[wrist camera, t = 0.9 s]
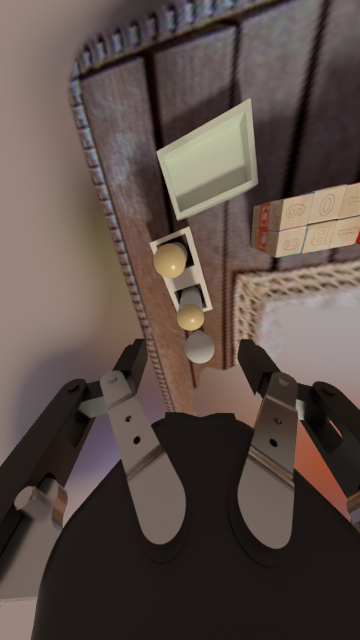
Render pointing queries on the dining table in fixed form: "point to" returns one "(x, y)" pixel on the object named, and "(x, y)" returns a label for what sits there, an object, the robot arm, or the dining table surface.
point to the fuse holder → (184, 271)
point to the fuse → (190, 309)
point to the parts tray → (211, 162)
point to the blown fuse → (171, 259)
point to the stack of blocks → (308, 221)
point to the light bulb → (199, 346)
